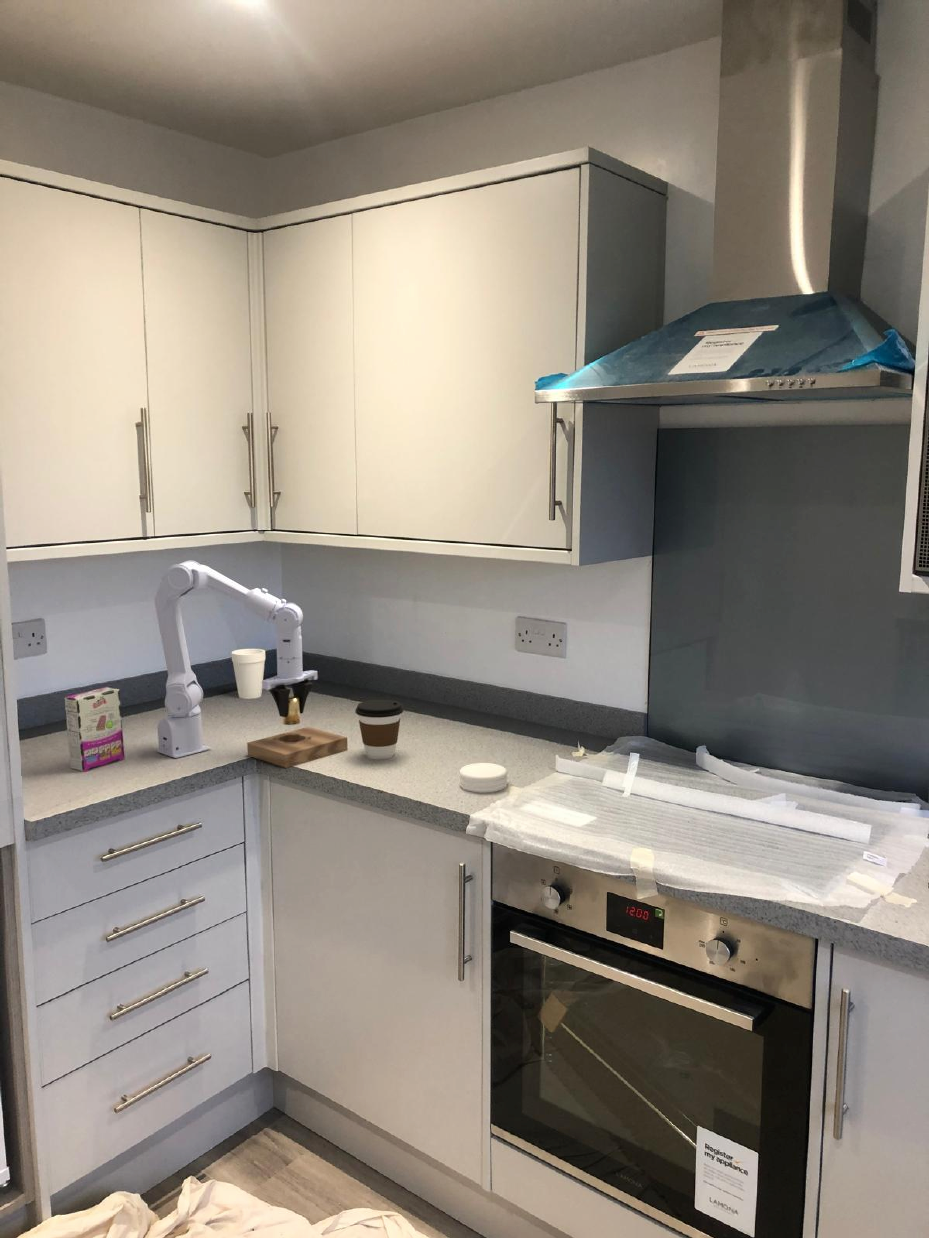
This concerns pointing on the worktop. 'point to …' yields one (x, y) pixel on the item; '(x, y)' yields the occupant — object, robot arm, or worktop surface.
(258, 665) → the foam cup
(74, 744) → the candy bar box
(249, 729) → the worktop surface
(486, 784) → the white round disc
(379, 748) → the coffee cup
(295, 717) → the bushing
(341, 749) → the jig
